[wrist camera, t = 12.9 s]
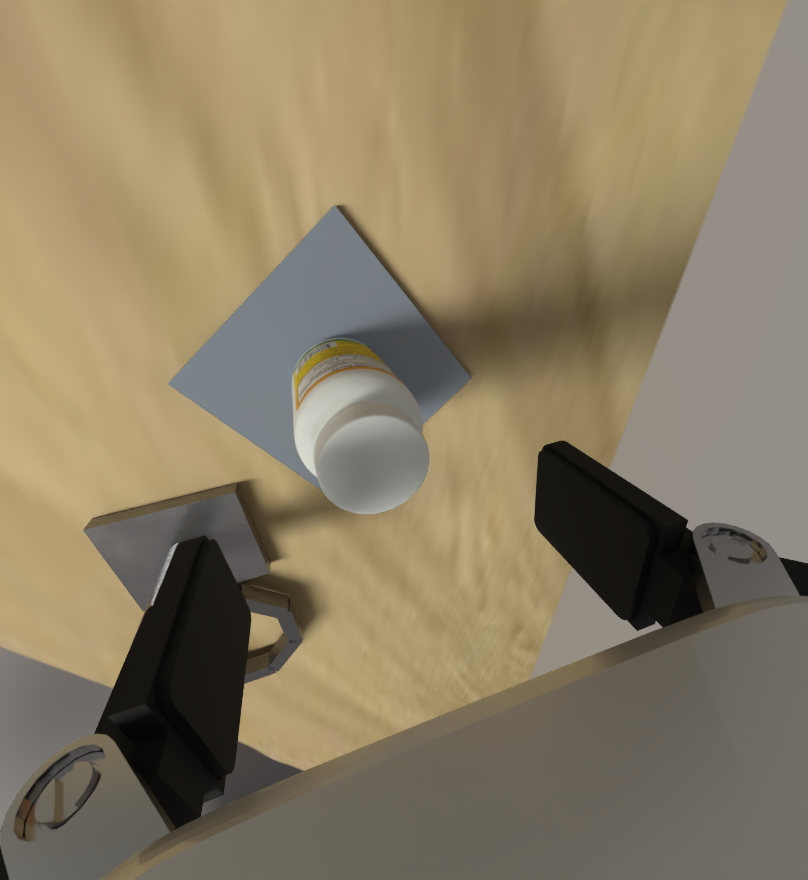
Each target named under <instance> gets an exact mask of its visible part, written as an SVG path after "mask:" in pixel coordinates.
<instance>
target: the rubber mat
mask: <svg viewBox="0 0 808 880" xmlns="http://www.w3.org/2000/svg"><path fill="white" fill-rule="evenodd" d="M332 338H347V339H352V340H356V341H358V342H361V343H363V344H365V345H366V346H368V347H369V348H370V349H371V350H372V351H374V352H375V353H376V355H377V356H378V357H379V358H380V359H381V360H382V361H383V362H384V363H385V364H386V365H387V367H388V368H389V369H390V370H391V371H392V372H393V373H394V374H395V375H396V376H397V377H398V378H399V379H400V381H401V382H402V383H403V384H404V385H405V386H406V387H407V388H408V389H409V391H410V392H411V393H412V395H413V396H414V398H415V400H416V402H417V404H418V406H419V409H420V412H421V417H422V424H423V423H424V422H426V421H427V420H428V419H429V418H430V417H431V416H432V415H433V414H434V413H435V412H436V411H437V410H438V409H439V408H441V407H442V406H443V405H444V404H445V403H446V402H447V401H448V400H449V399H450V398H451V397H452V396H453V395H454V394H456V393H457V392H458V391H459V390H460V389H461V388H462V387H463V386H464V385H465V384H466V383H467V382H468V381H469V380H471V379H472V378H471V377H470V376H469V374H468V373H467V372H466V371H465V369H464V368H463V367H462V366H461V364H460V363H459V362H458V360H457V359H456V358H455V357H454V355H453V354H452V353H451V352H450V350H449V349H448V348H447V347H446V345H445V344H444V343H443V341H442V340H441V339H440V338H439V336H438V335H437V334H436V333H435V331H434V330H433V329H432V328H431V326H430V325H429V324H428V322H427V321H426V320H425V319H424V317H423V316H422V315H421V314H420V312H419V311H418V310H417V308H416V307H415V306H414V305H413V303H412V302H411V301H410V300H409V298H408V297H407V296H406V295H405V293H404V292H403V291H402V289H401V288H400V287H399V286H398V284H397V283H396V282H395V281H394V279H393V278H392V277H391V276H390V274H389V273H388V272H387V270H386V269H385V268H384V267H383V265H382V264H381V263H380V262H379V260H378V259H377V258H376V257H375V255H374V254H373V253H372V251H371V250H370V249H369V248H368V246H367V245H366V244H365V243H364V241H363V240H362V239H361V238H360V236H359V235H358V234H357V232H356V231H355V230H354V229H353V227H352V226H351V225H350V224H349V222H348V221H347V220H346V219H345V217H344V216H343V215H342V213H341V212H340V211H339V210H338V208H337V207H336V206H335V205H334V206H333V208H332V209H331V210H330V211H329V212H328V213H327V214H326V215H325V216H324V217H323V218H322V219H321V220H320V221H319V222H318V224H317V225H316V226H315V227H314V228H313V229H312V230H311V231H310V232H309V233H308V234H307V235H306V236H305V237H304V239H303V240H302V241H301V242H300V243H299V244H298V245H297V246H296V247H295V248H294V249H293V250H292V251H291V252H290V253H289V255H288V256H287V257H286V258H285V259H284V260H283V261H282V262H281V263H280V264H279V265H278V266H277V267H276V268H275V270H274V271H273V272H272V273H271V274H270V275H269V276H268V277H267V278H266V279H265V280H264V281H263V282H262V283H261V284H260V286H259V287H258V288H257V289H256V290H255V291H254V292H253V293H252V294H251V295H250V296H249V297H248V298H247V299H246V301H245V302H244V303H243V304H242V305H241V306H240V307H239V308H238V309H237V310H236V311H235V312H234V313H233V314H232V315H231V317H230V318H229V319H228V320H227V321H226V322H225V323H224V324H223V325H222V326H221V327H220V328H219V329H218V330H217V332H216V333H215V334H214V335H213V336H212V337H211V338H210V339H209V340H208V341H207V342H206V343H205V344H204V345H203V347H202V348H201V349H200V350H199V351H198V352H197V353H196V354H195V355H194V356H193V357H192V358H191V359H190V360H189V361H188V363H187V364H186V365H185V366H184V367H183V368H182V369H181V370H180V371H179V372H178V373H177V374H176V375H175V376H174V378H173V379H172V380H171V381H170V382H169V383H168V384H169V385H170V386H171V387H173V388H174V389H176V390H177V391H179V392H180V393H182V394H183V395H184V396H186V397H187V398H189V399H190V400H192V401H193V402H195V403H196V404H197V405H199V406H200V407H202V408H203V409H205V410H206V411H208V412H209V413H210V414H212V415H213V416H215V417H216V418H218V419H219V420H221V421H222V422H224V423H225V424H226V425H228V426H229V427H231V428H232V429H234V430H235V431H237V432H238V433H239V434H241V435H242V436H244V437H245V438H247V439H248V440H250V441H251V442H252V443H254V444H255V445H257V446H258V447H260V448H261V449H263V450H264V451H265V452H267V453H268V454H270V455H271V456H273V457H274V458H276V459H277V460H278V461H280V462H281V463H283V464H284V465H286V466H287V467H289V468H290V469H291V470H293V471H294V472H296V473H297V474H299V475H300V476H302V477H303V478H304V479H306V480H307V481H309V482H310V483H312V484H313V485H315V486H316V487H317V488H319V489H320V490H322V489H321V487H320V485H319V482H318V478H317V477H316V476H314V475H313V474H312V473H311V472H310V471H309V470H308V469H307V467H306V466H305V465H304V463H303V462H302V460H301V458H300V456H299V454H298V451H297V448H296V445H295V440H294V427H293V401H292V376H293V372H294V369H295V366H296V364H297V362H298V361H299V359H300V358H301V356H302V355H303V354H304V353H305V352H306V351H307V350H308V349H309V348H311V347H312V346H314V345H315V344H317V343H319V342H321V341H324V340H327V339H332Z"/></svg>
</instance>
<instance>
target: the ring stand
mask: <svg viewBox="0 0 808 880" xmlns="http://www.w3.org/2000/svg"><path fill="white" fill-rule="evenodd" d="M83 531H84V532H85V533H86V535H87V536H88V537H89V539H90V540H91V542H92V543H93V544H94V546H95V547H96V548H97V550H98V551H99V552H100V554H101V555H102V556H103V558H104V559H105V560H106V562H107V563H108V565H109V566H110V567H111V569H112V570H113V571H114V573H115V574H116V575H117V577H118V578H119V579H120V581H121V582H122V583H123V585H124V586H125V587H126V589H127V590H128V592H129V593H130V594H131V596H132V597H133V598H134V600H135V601H136V602H137V604H138V605H139V606H140V608H141V609H142V610H143V611H145V612H144V614H145V613H146V611H147V609H148V608H149V607H150V606H152V605H153V603H154V601H155V598H156V596H157V593H158V591H159V588H160V586H161V583H162V581H163V579H164V576H165V574H166V571H167V569H168V566H169V564H170V561H171V559H172V556H173V554H174V552H175V549H176V547H177V545H178V543H179V542H181V541H185V540H189V539H193V538H196V537H200V536H206V537H207V538H208V539H209V540H211V539H215V540H216V541H217V543H218V545H219V547H220V549H221V551H222V553H223V555H224V557H225V559H226V561H227V563H228V565H229V567H230V569H231V571H232V573H233V575H234V577H235V579H236V582H237V583H239V582H242V581H246V580H249V579H252V578H256V577H259V576H262V575H266V574H269V573H270V565H271V562H270V560H269V558H268V555H267V553H266V550H265V548H264V546H263V543H262V541H261V539H260V536H259V534H258V532H257V529H256V527H255V524H254V522H253V520H252V517H251V515H250V513H249V510H248V508H247V506H246V503H245V501H244V498H243V496H242V494H241V491H240V489H239V487H238V484H237V483H235V484H231V485H227V486H223V487H219V488H215V489H211V490H207V491H203V492H199V493H194V494H190V495H186V496H182V497H178V498H174V499H170V500H166V501H162V502H158V503H154V504H150V505H146V506H142V507H138V508H134V509H129V510H125V511H121V512H117V513H113V514H109V515H105V516H101V517H97V518H93V519H91V520H90V522H89V523H88V524H87V526H86V527H85V528H84V530H83ZM238 586H239V588H240V590H241V592H242V594H243V596H244V598H245V600H246V602H247V604H248V606H249V609H250V612H253V613H258V614H262V615H266V616H271V617H275V618H277V619H278V621H279V623H280V625H281V627H282V630H283V632H284V634H283V635H282V636H281V638H280V639H279V640H278V641H277V643H276V644H275V645H274V646H273V648H272V649H271V650H270V652H268V653H265V654H262V655H259V656H256V657H253V658H250V659H247V662H246V671H245V680H244V684H245V683H248V682H251V681H254V680H256V679H259V678H262V677H265V676H268V675H271V674H274V673H276V671H279V670H280V669H281V667H282V666H283V665H284V664H285V662H286V661H287V660H288V659H289V657H290V656H291V655H292V654H293V652H294V651H295V650H296V649H297V648H298V646H299V645H300V644H301V643H302V640H303V637H302V625H301V622H300V620H299V617H298V615H297V613H296V610H295V608H294V605H293V603H292V600H291V598H290V597H289V598H288V595H284V594H280V593H276V592H272V591H269V590H265V589H261V588H257V587H253V586H250V585H246V584H242V585H241V586H240V585H239V584H238ZM143 617H144V615H143ZM143 617H142V619H143ZM141 621H142V620H141ZM140 624H141V622H140ZM139 626H140V625H139ZM138 628H139V627H138ZM137 631H138V630H137ZM136 633H137V632H136ZM135 636H136V635H135Z"/></svg>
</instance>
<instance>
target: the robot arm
mask: <svg viewBox="0 0 808 880" xmlns="http://www.w3.org/2000/svg"><path fill="white" fill-rule="evenodd" d="M534 521H535V525H536V527H537V529H538V530H539V532H540V533H541V534H542V535H543V536H544V537H545V538H546V539H547V540H548V541H549V542H550V544H551V545H552V546H553V547H554V548H555V549H556V550H557V551H558V552H559V553H560V554H561V555H562V556H563V558H564V559H565V560H566V561H567V562H568V563H569V564H570V565H571V566H572V567H573V568H574V569H575V570H576V572H577V573H578V574H579V575H580V576H581V577H582V578H583V579H584V580H585V581H586V582H587V583H588V584H589V586H590V587H591V588H592V589H593V590H594V591H595V592H596V593H597V594H598V595H599V596H600V597H601V599H602V600H603V601H604V602H605V603H606V604H607V605H608V606H609V607H610V608H611V609H612V610H613V611H614V613H615V614H616V615H617V616H618V617H620V618H621V619H623V620H628V622H629V623H630V624H631V625H632V626H633V627H634V628H635V629H636V630H637V631H638V630H641V629H643V628H646V627H648V626H651V625H653V624H655V621H657V622H658V623H659V624H660V625H661V626H662V627H663V628H661V629H658V630H655V631H653V632H650V633H647V634H645V635H642V636H640V637H638V638H635V639H632V640H630V641H627V642H625V643H622V644H620V645H617V646H615V647H612V648H609V649H607V650H604V651H602V652H599V653H597V654H594V655H592V656H589V657H587V658H584V659H581V660H579V661H576V662H574V663H572V664H569V665H566V666H564V667H561V668H559V669H556V670H554V671H551V672H549V673H546V674H544V675H541V676H538V677H536V678H534V679H531V680H528V681H526V682H523V683H521V684H518V685H516V686H513V687H511V688H508V689H506V690H503V691H501V692H498V693H496V694H493V695H491V696H488V697H486V698H483V699H481V700H478V701H476V702H473V703H471V704H468V705H466V706H463V707H461V708H458V709H456V710H454V711H451V712H449V713H446V714H444V715H441V716H439V717H436V718H434V719H431V720H429V721H426V722H424V723H421V724H419V725H416V726H414V727H411V728H409V729H406V730H404V731H402V732H399V733H397V734H394V735H392V736H389V737H387V738H384V739H382V740H379V741H377V742H375V743H372V744H370V745H367V746H365V747H362V748H360V749H357V750H355V751H352V752H350V753H347V754H345V755H343V756H340V757H338V758H335V759H333V760H330V761H328V762H325V763H323V764H320V765H318V766H315V767H313V768H311V769H308V770H306V771H304V772H301V773H299V774H297V775H294V776H292V777H290V778H287V779H285V780H283V781H280V782H278V783H276V784H273V785H271V786H269V787H266V788H264V789H262V790H259V791H257V792H254V793H252V794H250V795H247V796H245V797H243V798H241V799H238V800H236V801H233V802H231V803H229V804H227V805H225V806H222V807H220V808H218V809H216V810H214V811H212V812H210V813H208V814H206V815H204V816H202V817H201V812H202V806H203V803H204V802H207V801H209V800H212V799H214V798H217V797H219V796H222V795H223V794H224V786H225V779H226V775H227V774H230V773H232V771H233V769H234V766H235V760H236V751H237V742H238V733H239V724H240V716H241V707H242V698H243V689H244V680H245V671H246V662H247V654H248V645H249V636H250V627H251V613H250V609H249V606H248V604H247V602H246V600H245V598H244V596H243V594H242V592H241V590H240V588H239V586H238V584H237V582H236V579H235V577H234V575H233V573H232V571H231V569H230V567H229V565H228V563H227V561H226V559H225V557H224V555H223V553H222V551H221V549H220V547H219V545H218V543H217V541H216V540H215V539H211V540H209V539H208V538H207V537H206V536H200V537H196V538H193V539H189V540H185V541H181V542H179V543H178V545H177V547H176V549H175V552H174V554H173V556H172V559H171V561H170V564H169V566H168V569H167V571H166V574H165V576H164V579H163V581H162V583H161V586H160V588H159V591H158V593H157V596H156V598H155V601H154V603H153V605H152V606H150V607H149V608H148V609H147V611H146V613H145V614H144V617H143V619H142V621H141V624H140V626H139V628H138V631H137V633H136V636H135V638H134V640H133V643H132V645H131V648H130V650H129V652H128V655H127V657H126V659H125V662H124V664H123V667H122V669H121V671H120V674H119V676H118V678H117V681H116V683H115V686H114V688H113V690H112V693H111V695H110V698H109V700H108V702H107V705H106V707H105V710H104V712H103V714H102V717H101V719H100V721H99V724H98V726H97V728H96V731H95V733H94V734H93V735H89V736H85V737H82V738H80V739H78V740H76V741H74V742H72V743H70V744H69V745H67V746H65V747H64V748H62V749H61V750H60V751H58V752H57V753H56V754H54V755H53V756H52V757H51V758H49V759H48V760H47V761H46V762H45V763H44V764H43V765H42V766H41V767H40V768H39V769H38V770H37V771H36V772H35V773H34V774H32V776H31V777H30V778H29V780H28V781H27V782H26V783H25V785H24V786H23V787H22V788H21V790H20V791H19V792H18V794H17V795H16V797H15V799H14V800H13V802H12V804H11V806H10V807H9V809H8V811H7V813H6V815H5V819H4V822H3V825H2V827H1V830H0V880H808V563H803V562H798V561H794V560H789V559H784V558H780V557H778V555H777V554H776V552H775V551H774V549H773V548H772V547H771V546H770V544H768V543H767V542H766V541H765V540H763V539H762V538H761V537H759V536H757V535H755V534H753V533H751V532H749V531H747V530H745V529H742V528H739V527H736V526H732V525H728V524H722V523H706V524H702V525H699V526H697V527H696V528H695V529H694V531H693V532H692V531H690V530H689V529H688V528H686V525H687V522H688V520H687V519H685V518H684V517H682V516H681V515H679V514H678V513H676V512H675V511H673V510H671V509H670V508H668V507H666V506H665V505H664V504H662V503H661V502H659V501H657V500H656V499H654V498H653V497H651V496H650V495H648V494H647V493H645V492H644V491H642V490H640V489H639V488H637V487H636V486H634V485H633V484H631V483H630V482H628V481H626V480H625V479H623V478H622V477H620V476H619V475H617V474H616V473H614V472H612V471H611V470H609V469H608V468H606V467H605V466H603V465H602V464H600V463H599V462H597V461H595V460H594V459H592V458H591V457H589V456H588V455H586V454H585V453H583V452H582V451H580V450H578V449H577V448H575V447H574V446H572V445H571V444H569V443H568V442H566V441H558V442H554V443H551V444H547V445H545V446H544V447H543V448H542V451H540V452H539V455H538V467H537V483H536V499H535V516H534Z"/></svg>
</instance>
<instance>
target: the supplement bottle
mask: <svg viewBox="0 0 808 880" xmlns="http://www.w3.org/2000/svg"><path fill="white" fill-rule="evenodd" d="M292 401H293V427H294V440H295V445H296V448H297V451H298V454H299V456H300V458H301V460H302V462H303V463H304V465H305V466H306V467H307V469H308V470H309V471H310V472H311V473H312V474H313V475H314V476H316V477H317V478H318V482H319V485H320V487H321V489H322V491H323V493H324V494H325V495H326V497H327V498H328V499H329V500H330V501H331V502H332V503H333V504H335V505H336V506H338V507H340V508H341V509H343V510H346V511H349V512H353V513H358V514H375V513H381V512H385V511H388V510H391V509H393V508H396V507H398V506H399V505H401V504H402V503H404V502H405V501H407V500H408V499H409V498H410V497H411V496H412V495H413V494H414V493H416V491H417V490H418V489H419V487H420V486H421V484H422V483H423V481H424V479H425V477H426V474H427V471H428V466H429V451H428V447H427V443H426V441H425V439H424V437H423V435H422V417H421V412H420V409H419V406H418V404H417V402H416V400H415V398H414V396H413V395H412V393H411V392H410V391H409V389H408V388H407V387H406V386H405V385H404V384H403V383H402V382H401V381H400V379H399V378H398V377H397V376H396V375H395V374H394V373H393V372H392V371H391V370H390V369H389V368H388V367H387V365H386V364H385V363H384V362H383V361H382V360H381V359H380V358H379V357H378V356H377V355H376V353H375V352H374V351H372V350H371V349H370V348H369V347H368V346H366V345H365V344H363V343H361V342H358V341H356V340H352V339H347V338H332V339H327V340H324V341H321V342H319V343H317V344H315V345H314V346H312V347H311V348H309V349H308V350H307V351H306V352H305V353H304V354H303V355H302V356H301V358H300V359H299V361H298V362H297V364H296V366H295V369H294V372H293V376H292Z"/></svg>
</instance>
